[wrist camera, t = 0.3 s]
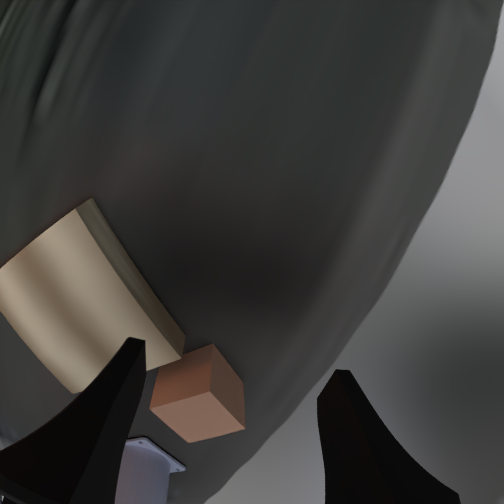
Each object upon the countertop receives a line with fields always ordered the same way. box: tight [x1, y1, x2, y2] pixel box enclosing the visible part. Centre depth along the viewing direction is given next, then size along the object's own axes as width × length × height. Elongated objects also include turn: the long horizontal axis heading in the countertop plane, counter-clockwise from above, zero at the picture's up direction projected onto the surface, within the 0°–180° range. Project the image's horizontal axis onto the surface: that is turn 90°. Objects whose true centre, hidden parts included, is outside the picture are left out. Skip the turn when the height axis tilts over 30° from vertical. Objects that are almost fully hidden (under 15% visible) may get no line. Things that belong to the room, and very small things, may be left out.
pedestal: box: [0, 198, 186, 394], centre depth 21 cm, size 12×12×3 cm
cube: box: [149, 344, 245, 443], centre depth 22 cm, size 5×5×5 cm
